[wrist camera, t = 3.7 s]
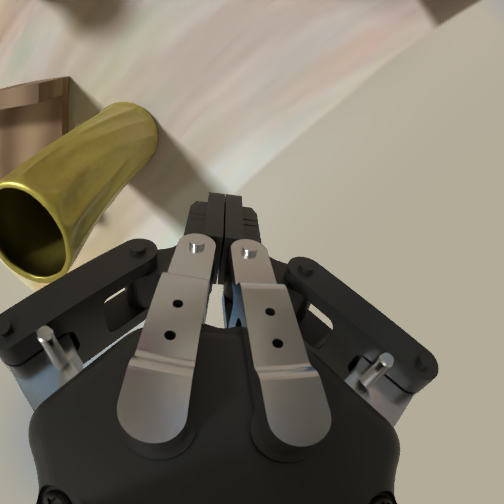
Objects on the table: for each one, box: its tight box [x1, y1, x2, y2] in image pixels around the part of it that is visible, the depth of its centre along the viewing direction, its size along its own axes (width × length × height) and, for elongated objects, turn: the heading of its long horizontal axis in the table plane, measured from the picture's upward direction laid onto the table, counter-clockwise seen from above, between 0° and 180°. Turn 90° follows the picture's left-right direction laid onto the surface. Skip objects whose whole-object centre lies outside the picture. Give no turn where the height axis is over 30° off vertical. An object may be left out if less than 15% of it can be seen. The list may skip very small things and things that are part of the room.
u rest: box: [0, 76, 69, 180], centre depth 16 cm, size 13×11×4 cm
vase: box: [0, 102, 158, 283], centre depth 15 cm, size 6×6×14 cm
